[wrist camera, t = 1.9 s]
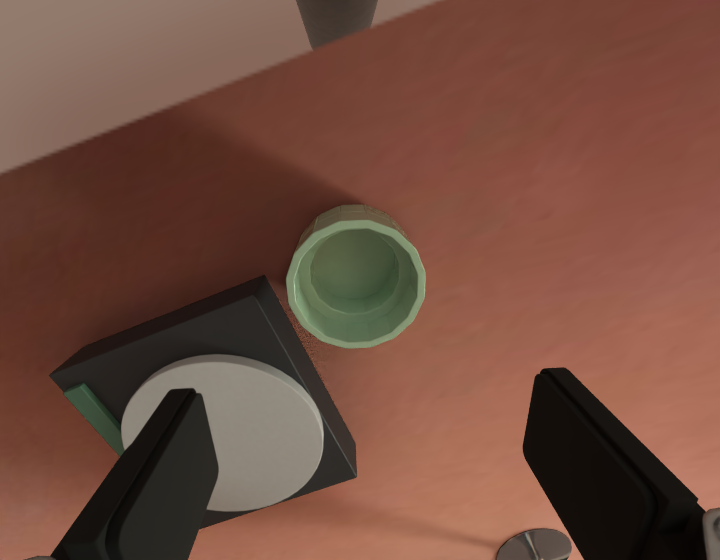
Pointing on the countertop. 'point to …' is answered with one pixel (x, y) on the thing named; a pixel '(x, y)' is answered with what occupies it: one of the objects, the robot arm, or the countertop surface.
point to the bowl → (355, 278)
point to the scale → (222, 396)
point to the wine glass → (536, 546)
